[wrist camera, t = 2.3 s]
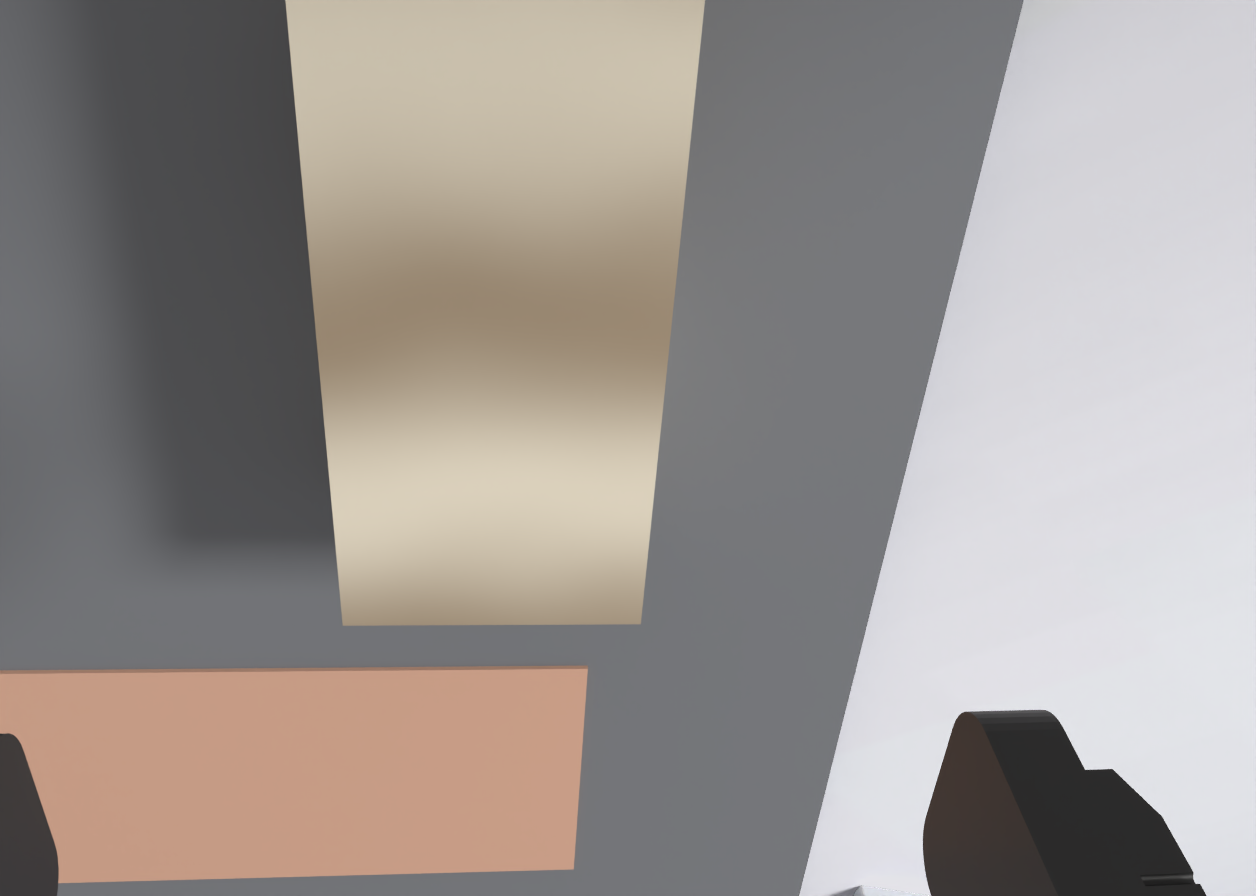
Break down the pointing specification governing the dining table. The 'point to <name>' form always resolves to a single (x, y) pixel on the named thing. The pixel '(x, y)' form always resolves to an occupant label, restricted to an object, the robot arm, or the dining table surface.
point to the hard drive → (882, 892)
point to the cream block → (493, 294)
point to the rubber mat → (301, 499)
